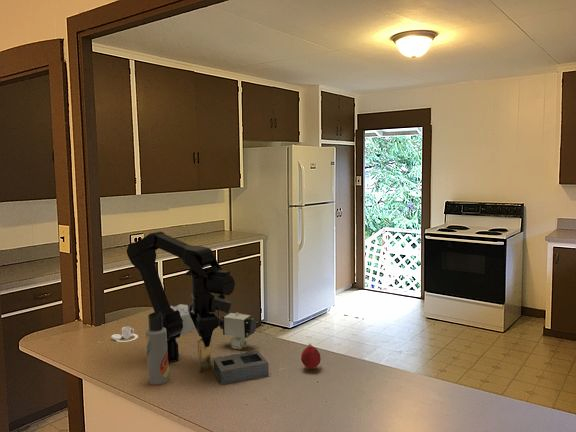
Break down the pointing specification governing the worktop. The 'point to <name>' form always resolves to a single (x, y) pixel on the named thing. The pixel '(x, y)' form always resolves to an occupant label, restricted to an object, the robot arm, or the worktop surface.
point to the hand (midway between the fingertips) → (204, 341)
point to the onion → (310, 357)
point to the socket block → (240, 367)
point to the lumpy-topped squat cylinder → (185, 318)
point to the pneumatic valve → (237, 328)
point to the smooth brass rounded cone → (204, 357)
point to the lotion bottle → (157, 350)
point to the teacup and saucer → (124, 335)
